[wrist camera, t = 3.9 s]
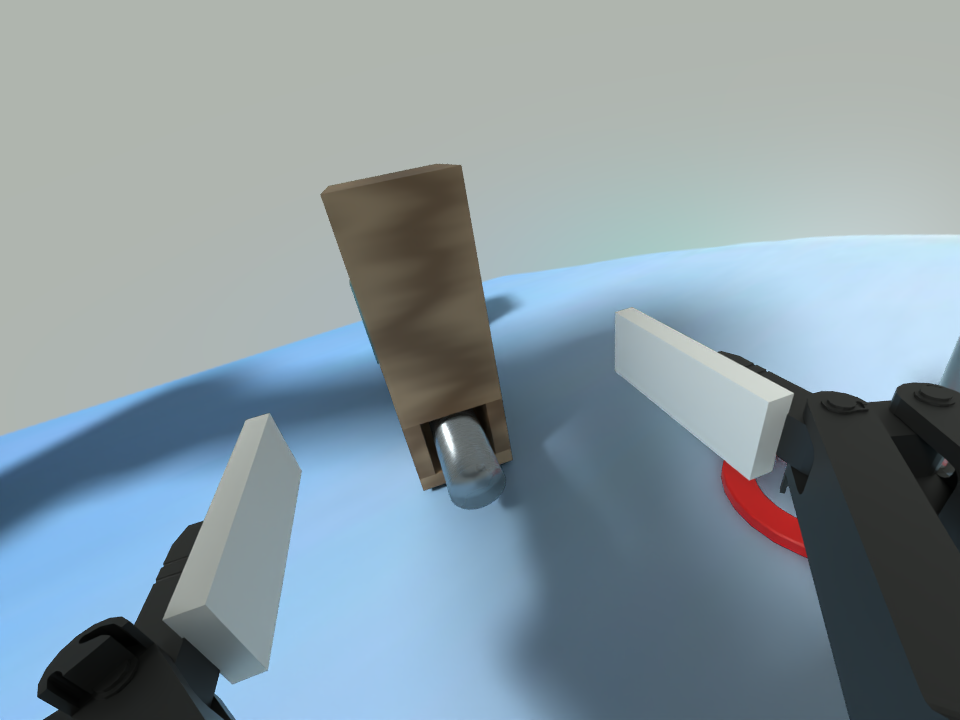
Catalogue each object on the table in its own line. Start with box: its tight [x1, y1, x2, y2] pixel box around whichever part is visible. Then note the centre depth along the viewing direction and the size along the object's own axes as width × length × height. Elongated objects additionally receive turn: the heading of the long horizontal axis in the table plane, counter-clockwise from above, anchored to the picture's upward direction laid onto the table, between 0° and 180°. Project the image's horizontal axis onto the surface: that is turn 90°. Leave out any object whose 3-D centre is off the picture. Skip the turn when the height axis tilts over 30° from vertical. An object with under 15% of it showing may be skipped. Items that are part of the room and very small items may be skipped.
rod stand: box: [350, 281, 506, 509], centre depth 32 cm, size 10×29×9 cm, turn 16°
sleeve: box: [321, 164, 513, 491], centre depth 23 cm, size 6×6×18 cm
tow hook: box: [721, 336, 960, 558], centre depth 17 cm, size 8×13×9 cm
